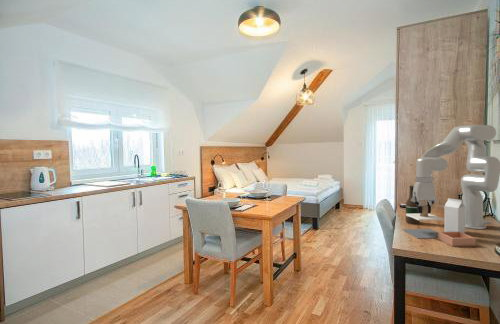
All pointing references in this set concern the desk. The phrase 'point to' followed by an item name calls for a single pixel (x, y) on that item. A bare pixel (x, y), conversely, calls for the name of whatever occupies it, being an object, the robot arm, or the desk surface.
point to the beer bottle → (411, 208)
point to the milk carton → (454, 216)
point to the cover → (424, 215)
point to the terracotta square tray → (456, 239)
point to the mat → (422, 233)
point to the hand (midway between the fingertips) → (423, 212)
